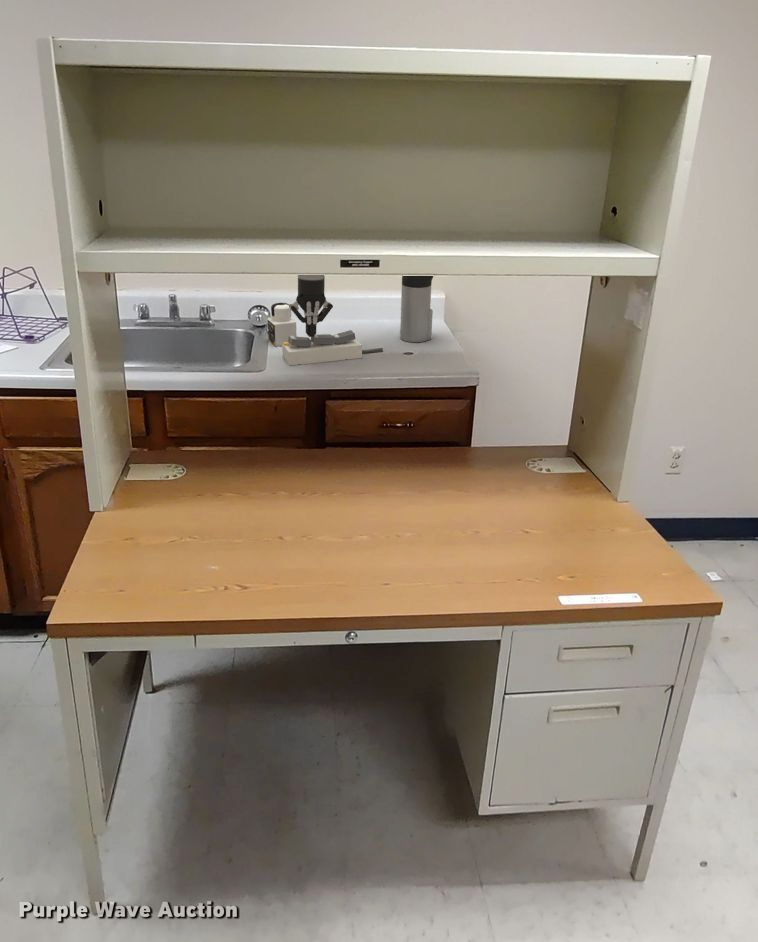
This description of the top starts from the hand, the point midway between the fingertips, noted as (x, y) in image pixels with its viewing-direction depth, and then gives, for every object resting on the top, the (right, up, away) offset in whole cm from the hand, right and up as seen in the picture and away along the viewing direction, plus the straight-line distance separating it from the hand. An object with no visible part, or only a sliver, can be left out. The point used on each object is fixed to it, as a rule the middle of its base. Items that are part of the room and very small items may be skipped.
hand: (310, 336), depth 219 cm
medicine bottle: (-10, +1, +17) cm, 20 cm away
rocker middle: (+3, -2, +2) cm, 4 cm away
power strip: (+7, -5, +5) cm, 10 cm away
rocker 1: (-3, -3, 0) cm, 5 cm away
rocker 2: (+10, -1, +5) cm, 11 cm away
